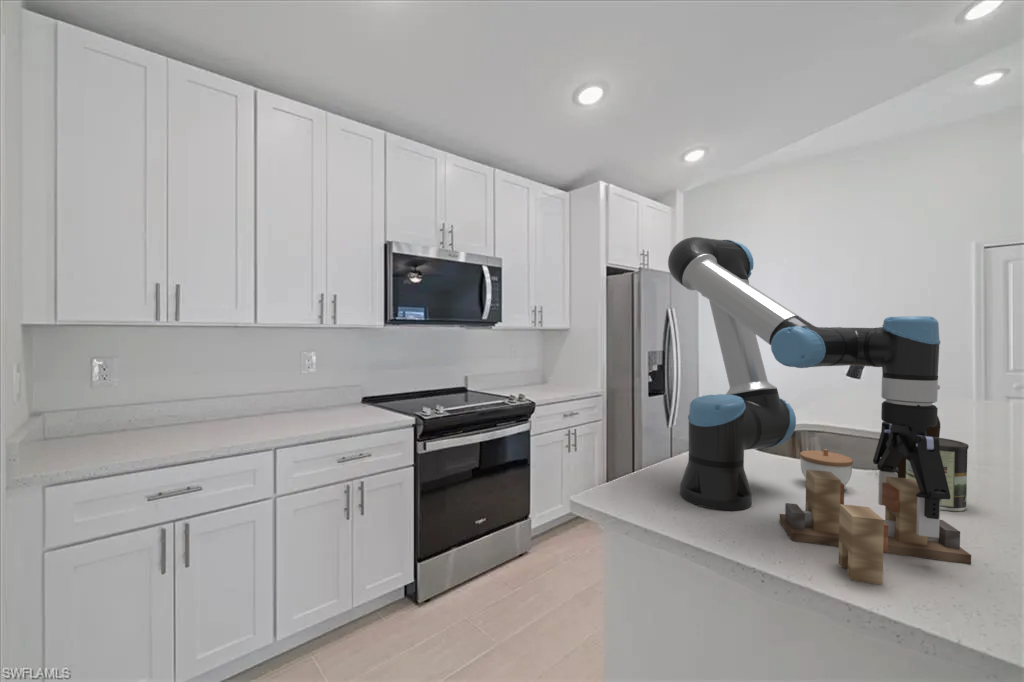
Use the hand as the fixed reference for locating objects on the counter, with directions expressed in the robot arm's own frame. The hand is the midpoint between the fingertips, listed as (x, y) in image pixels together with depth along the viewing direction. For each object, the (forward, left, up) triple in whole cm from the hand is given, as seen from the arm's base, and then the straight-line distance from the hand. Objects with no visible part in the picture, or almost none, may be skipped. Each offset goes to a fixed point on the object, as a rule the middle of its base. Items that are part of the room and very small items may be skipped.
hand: (905, 519), depth 81 cm
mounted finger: (-13, 0, -3) cm, 13 cm away
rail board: (-6, 0, -5) cm, 8 cm away
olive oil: (+20, +44, -5) cm, 49 cm away
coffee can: (+17, +27, -5) cm, 32 cm away
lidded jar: (-3, +31, -5) cm, 32 cm away
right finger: (0, 0, -3) cm, 3 cm away
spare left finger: (-12, -14, -5) cm, 19 cm away
